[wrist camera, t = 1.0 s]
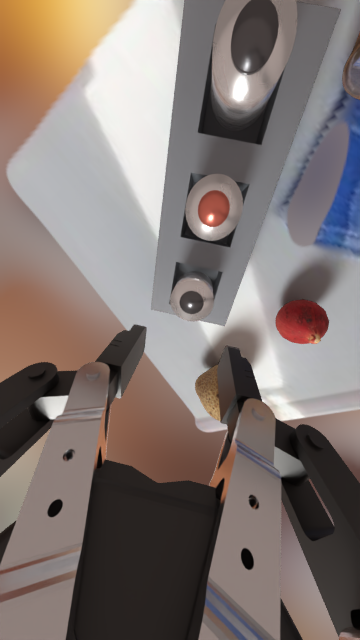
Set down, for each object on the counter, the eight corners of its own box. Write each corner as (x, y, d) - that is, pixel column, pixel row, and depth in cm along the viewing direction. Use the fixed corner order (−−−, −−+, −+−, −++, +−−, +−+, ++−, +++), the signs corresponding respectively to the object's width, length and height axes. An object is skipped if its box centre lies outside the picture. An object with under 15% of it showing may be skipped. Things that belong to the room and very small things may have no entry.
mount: (298, 78, 16) (341, 9, 11) (221, 307, 28) (224, 326, 23) (192, 59, 16) (186, -18, 11) (161, 293, 28) (150, 309, 23)
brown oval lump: (254, 374, 34) (271, 426, 25) (217, 391, 38) (220, 442, 29) (226, 344, 31) (234, 389, 23) (189, 365, 35) (184, 412, 26)
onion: (268, 296, 26) (290, 322, 19) (311, 288, 25) (352, 312, 18) (269, 328, 29) (289, 361, 22) (309, 322, 27) (343, 356, 20)
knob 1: (217, 275, 20) (219, 287, 16) (207, 309, 22) (207, 326, 18) (179, 267, 20) (173, 276, 16) (173, 301, 22) (166, 317, 18)
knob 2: (283, 47, 12) (318, -33, 8) (257, 135, 14) (276, 103, 10) (220, 36, 12) (226, -48, 8) (204, 125, 14) (204, 90, 11)
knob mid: (242, 189, 16) (252, 179, 12) (227, 241, 18) (232, 246, 14) (195, 180, 16) (191, 166, 12) (185, 232, 18) (180, 234, 14)
